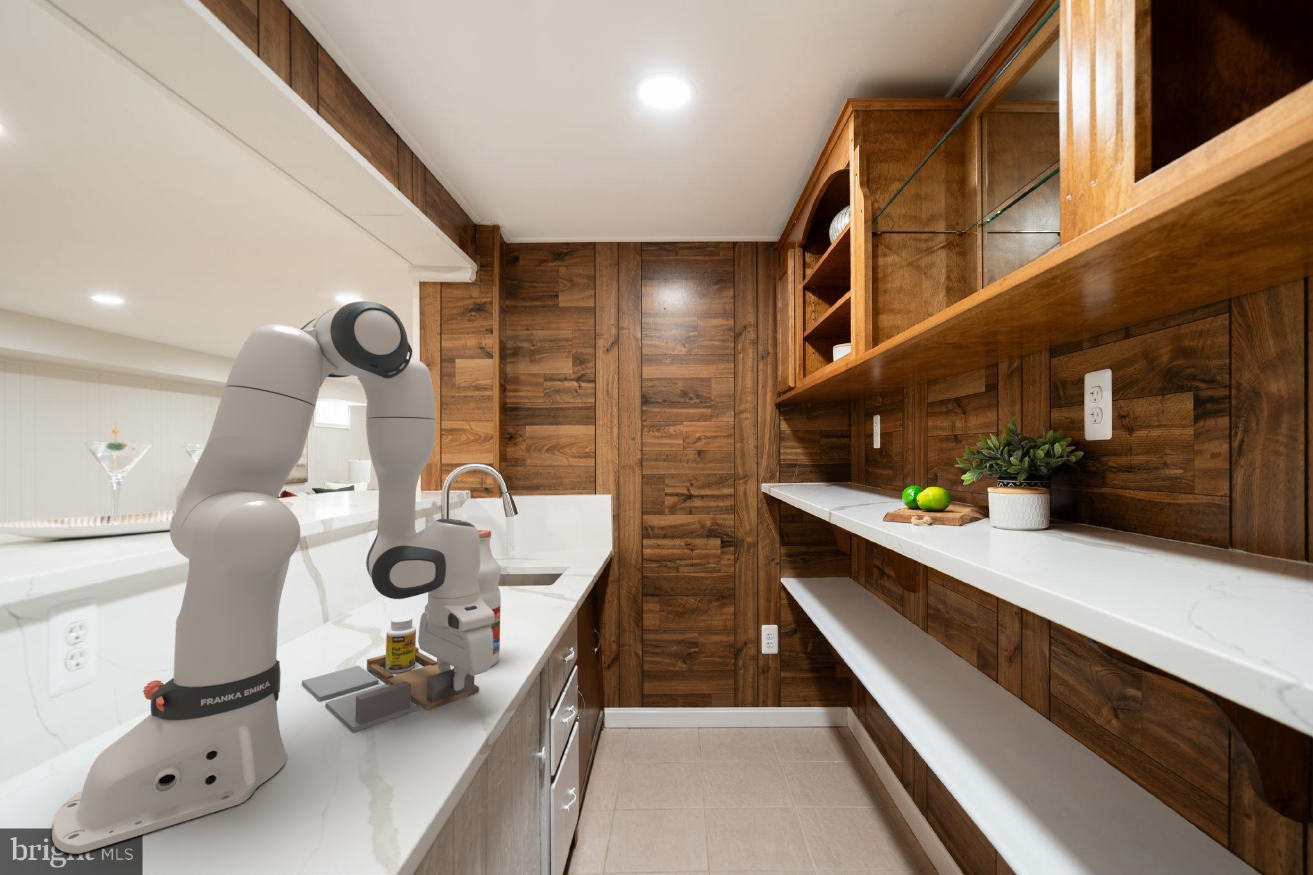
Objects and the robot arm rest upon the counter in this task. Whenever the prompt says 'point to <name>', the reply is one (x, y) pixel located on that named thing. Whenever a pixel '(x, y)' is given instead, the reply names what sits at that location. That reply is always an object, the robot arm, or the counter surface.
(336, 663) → the counter surface
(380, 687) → the broken grey strip
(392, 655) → the supplement bottle
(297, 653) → the counter surface
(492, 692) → the counter surface
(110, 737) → the counter surface
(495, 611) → the fruit juice
